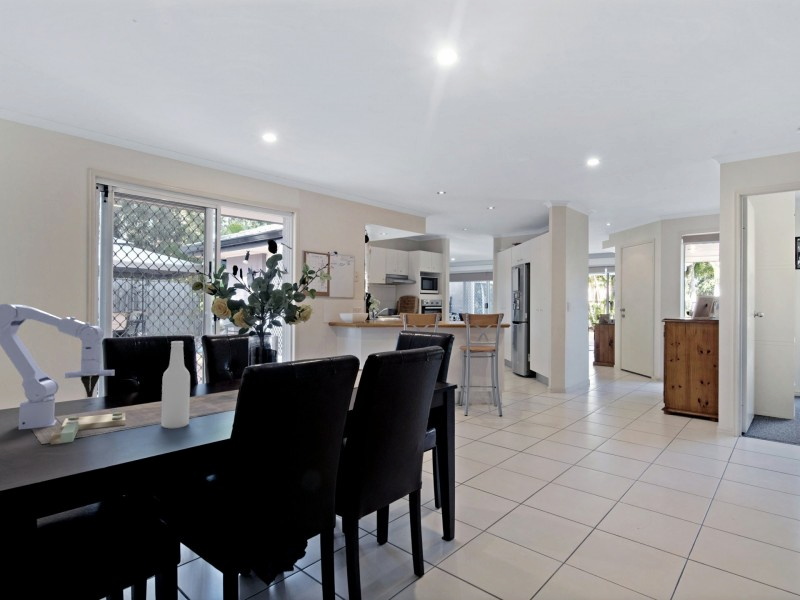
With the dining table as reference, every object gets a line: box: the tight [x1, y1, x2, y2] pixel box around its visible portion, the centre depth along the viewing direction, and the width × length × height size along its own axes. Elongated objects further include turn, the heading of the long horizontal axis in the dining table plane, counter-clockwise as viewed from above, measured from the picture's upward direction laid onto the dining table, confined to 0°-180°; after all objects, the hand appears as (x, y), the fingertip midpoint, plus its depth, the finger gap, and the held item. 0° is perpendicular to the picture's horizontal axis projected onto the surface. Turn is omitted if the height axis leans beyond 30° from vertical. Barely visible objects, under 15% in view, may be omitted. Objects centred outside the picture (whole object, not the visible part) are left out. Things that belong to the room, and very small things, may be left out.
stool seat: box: [49, 411, 127, 446], centre depth 147 cm, size 19×27×3 cm
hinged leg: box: [60, 421, 79, 444], centre depth 139 cm, size 15×3×3 cm, turn 31°
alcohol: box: [160, 340, 191, 430], centre depth 155 cm, size 9×9×30 cm
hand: (89, 396), depth 156 cm, fingers closed
